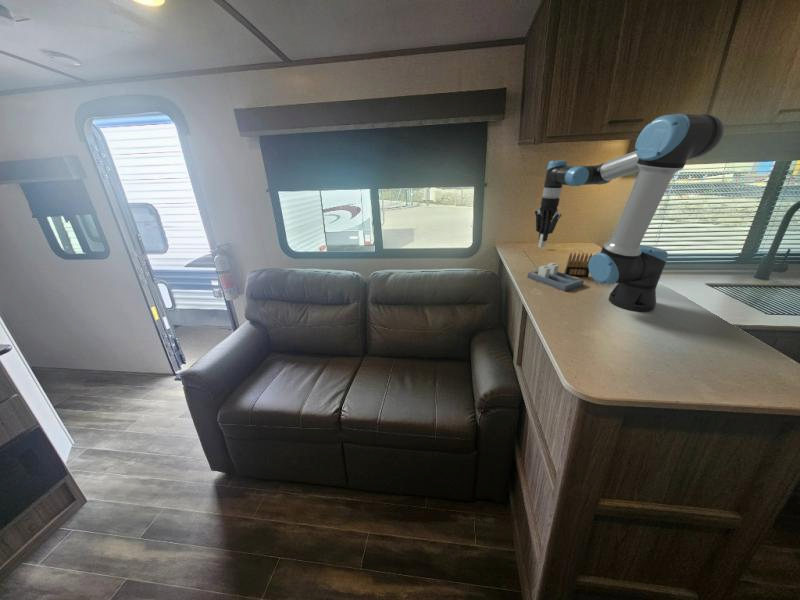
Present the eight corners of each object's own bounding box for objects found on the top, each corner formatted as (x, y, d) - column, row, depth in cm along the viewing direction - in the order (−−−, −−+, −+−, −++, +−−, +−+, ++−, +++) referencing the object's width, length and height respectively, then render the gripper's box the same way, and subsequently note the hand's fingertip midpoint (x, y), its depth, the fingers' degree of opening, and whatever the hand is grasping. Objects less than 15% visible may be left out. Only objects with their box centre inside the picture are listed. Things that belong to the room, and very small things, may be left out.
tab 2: (556, 274, 147) (559, 264, 144) (552, 276, 145) (555, 265, 143) (549, 272, 150) (551, 261, 148) (545, 273, 149) (547, 262, 146)
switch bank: (582, 285, 138) (584, 279, 137) (564, 291, 132) (565, 285, 131) (545, 272, 154) (546, 267, 153) (527, 277, 148) (528, 271, 147)
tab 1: (548, 278, 143) (550, 266, 141) (544, 279, 142) (546, 268, 139) (541, 275, 146) (543, 264, 144) (537, 276, 145) (539, 265, 143)
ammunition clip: (564, 276, 149) (569, 253, 144) (563, 275, 151) (568, 251, 146) (588, 277, 147) (594, 253, 142) (586, 276, 149) (592, 252, 144)
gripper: (569, 198, 135) (557, 248, 146) (544, 195, 146) (535, 242, 156) (558, 199, 132) (547, 251, 143) (533, 196, 143) (525, 244, 153)
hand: (541, 246), depth 149 cm, fingers closed
